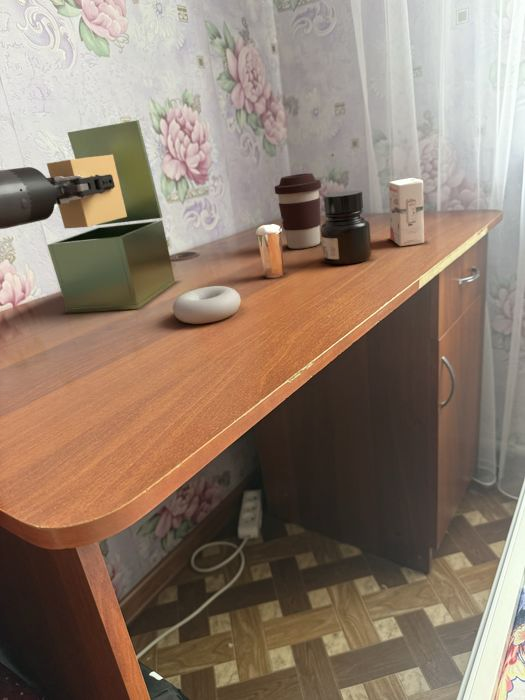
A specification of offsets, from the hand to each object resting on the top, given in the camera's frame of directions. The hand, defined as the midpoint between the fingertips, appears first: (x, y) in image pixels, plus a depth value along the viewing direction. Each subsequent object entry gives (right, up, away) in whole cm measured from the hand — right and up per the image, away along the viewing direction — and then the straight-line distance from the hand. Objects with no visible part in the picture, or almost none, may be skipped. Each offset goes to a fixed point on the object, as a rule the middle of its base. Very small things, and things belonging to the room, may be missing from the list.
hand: (98, 183), depth 83 cm
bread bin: (+2, -18, +8) cm, 20 cm away
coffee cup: (+37, -5, +29) cm, 47 cm away
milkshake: (+30, -15, +7) cm, 34 cm away
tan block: (0, -6, 0) cm, 7 cm away
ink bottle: (+43, -11, +11) cm, 46 cm away
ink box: (+57, -6, +18) cm, 60 cm away
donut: (+19, -23, -9) cm, 31 cm away
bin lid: (+1, +3, +6) cm, 7 cm away
